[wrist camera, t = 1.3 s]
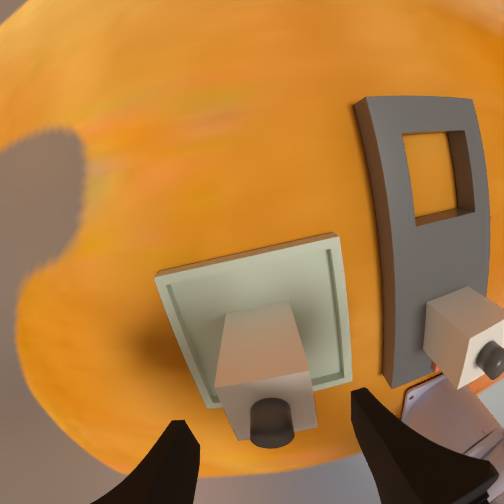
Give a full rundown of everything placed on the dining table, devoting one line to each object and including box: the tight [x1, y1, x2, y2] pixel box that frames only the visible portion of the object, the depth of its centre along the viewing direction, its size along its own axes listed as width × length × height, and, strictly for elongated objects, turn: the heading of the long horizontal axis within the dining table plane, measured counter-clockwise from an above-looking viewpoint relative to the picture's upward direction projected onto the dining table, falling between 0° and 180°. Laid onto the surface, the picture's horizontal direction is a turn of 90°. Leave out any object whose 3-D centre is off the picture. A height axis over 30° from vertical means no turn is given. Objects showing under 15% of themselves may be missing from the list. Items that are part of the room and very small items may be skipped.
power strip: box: [354, 96, 504, 390], centre depth 13 cm, size 20×9×9 cm, turn 13°
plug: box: [214, 300, 318, 448], centre depth 14 cm, size 4×4×9 cm
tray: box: [154, 232, 352, 409], centre depth 18 cm, size 11×11×1 cm
